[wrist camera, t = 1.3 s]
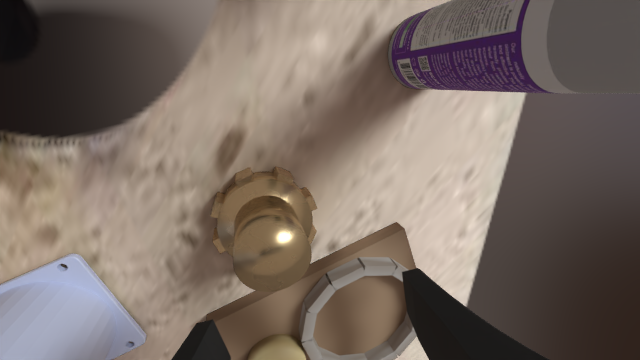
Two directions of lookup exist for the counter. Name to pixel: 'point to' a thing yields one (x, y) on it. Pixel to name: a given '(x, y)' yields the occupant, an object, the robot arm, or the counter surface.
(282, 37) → the counter surface
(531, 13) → the container
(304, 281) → the carrier board
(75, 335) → the robot arm
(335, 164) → the counter surface
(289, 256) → the planet gear
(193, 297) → the counter surface
